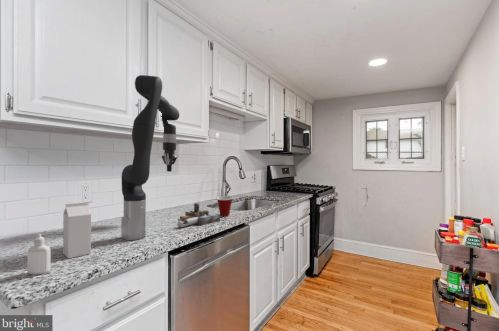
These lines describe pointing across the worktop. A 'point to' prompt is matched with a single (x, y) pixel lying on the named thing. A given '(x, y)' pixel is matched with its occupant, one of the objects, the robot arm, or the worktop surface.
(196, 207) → the bolt
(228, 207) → the plastic cup
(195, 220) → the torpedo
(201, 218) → the lock plate
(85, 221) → the milk carton
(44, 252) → the eye dropper bottle
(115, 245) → the worktop surface
